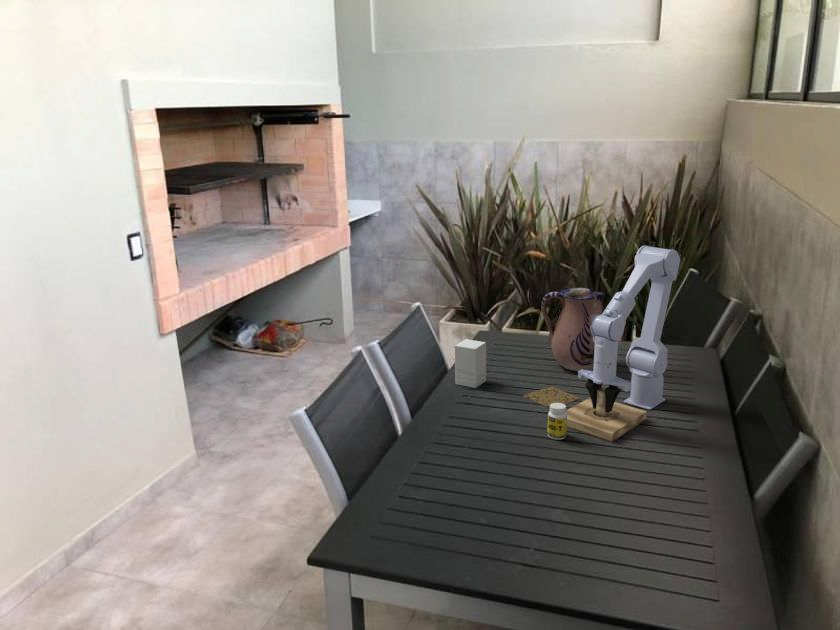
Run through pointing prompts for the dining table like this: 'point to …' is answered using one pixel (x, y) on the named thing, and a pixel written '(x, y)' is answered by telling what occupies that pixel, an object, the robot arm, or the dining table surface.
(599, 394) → the dowel
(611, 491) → the dining table surface
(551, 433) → the supplement bottle
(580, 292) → the ceramic pitcher
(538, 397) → the cookie
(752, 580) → the dining table surface
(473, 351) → the supplement box
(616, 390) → the robot arm
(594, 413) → the bore board
